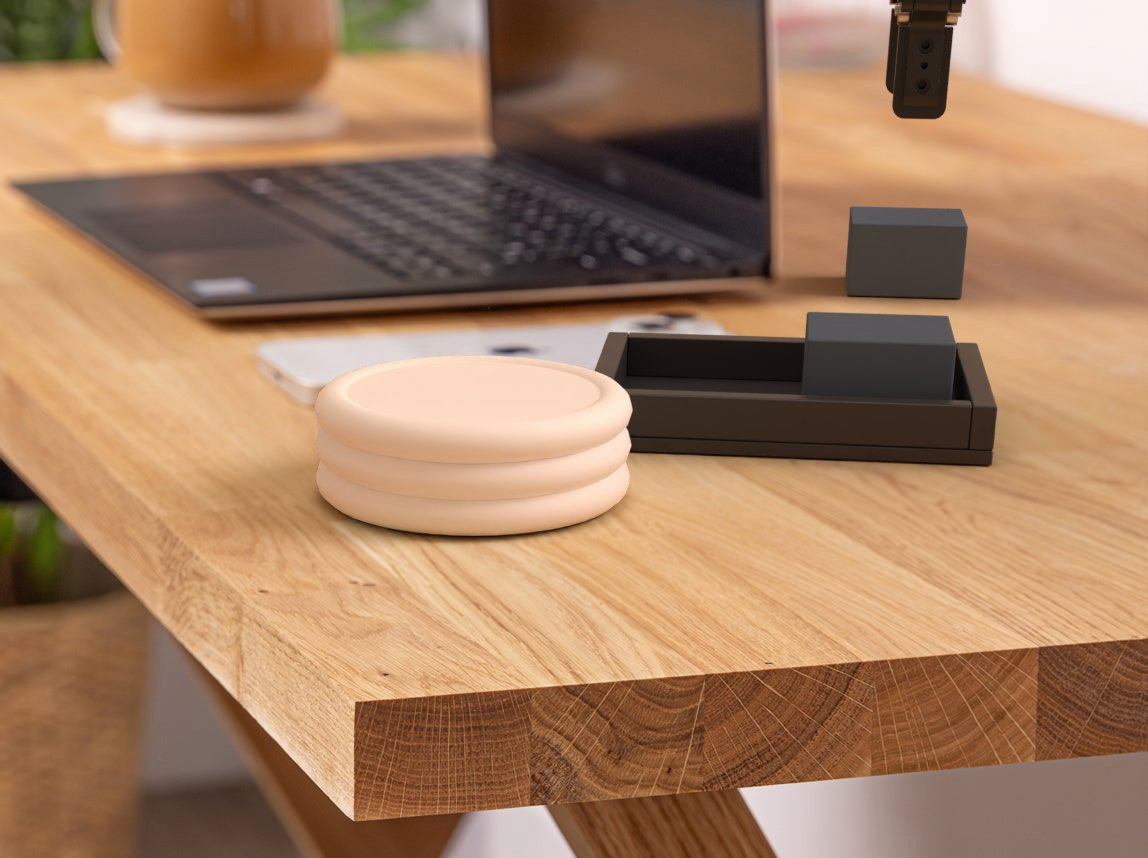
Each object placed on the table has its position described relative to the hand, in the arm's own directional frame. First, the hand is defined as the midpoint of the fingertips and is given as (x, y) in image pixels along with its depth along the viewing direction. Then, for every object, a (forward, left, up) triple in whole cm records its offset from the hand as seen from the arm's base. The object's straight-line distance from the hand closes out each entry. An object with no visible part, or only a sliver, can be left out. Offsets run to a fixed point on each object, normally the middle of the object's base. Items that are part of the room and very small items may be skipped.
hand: (913, 105), depth 99 cm
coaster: (+15, +36, -8) cm, 39 cm away
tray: (+5, +25, -8) cm, 27 cm away
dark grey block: (0, 0, -8) cm, 8 cm away
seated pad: (+2, +25, -8) cm, 26 cm away
